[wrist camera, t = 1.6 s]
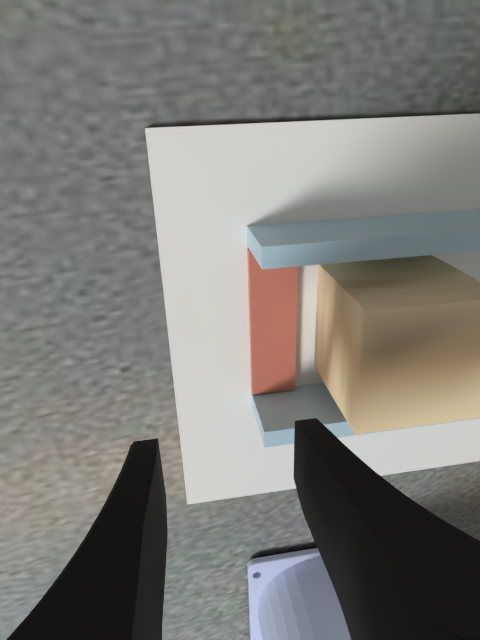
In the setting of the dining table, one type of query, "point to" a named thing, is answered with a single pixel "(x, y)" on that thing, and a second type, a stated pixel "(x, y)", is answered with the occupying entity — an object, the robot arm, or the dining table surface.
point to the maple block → (399, 342)
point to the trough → (281, 300)
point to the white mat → (232, 273)
